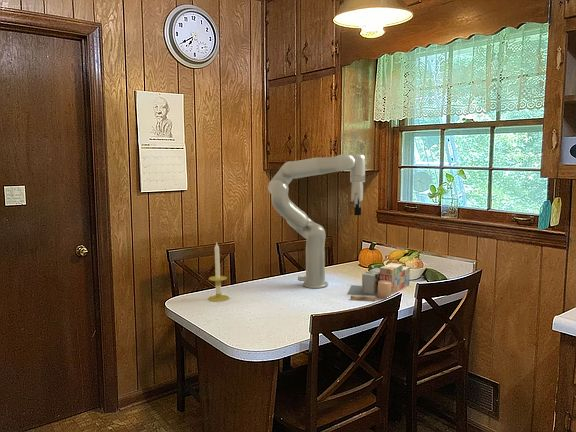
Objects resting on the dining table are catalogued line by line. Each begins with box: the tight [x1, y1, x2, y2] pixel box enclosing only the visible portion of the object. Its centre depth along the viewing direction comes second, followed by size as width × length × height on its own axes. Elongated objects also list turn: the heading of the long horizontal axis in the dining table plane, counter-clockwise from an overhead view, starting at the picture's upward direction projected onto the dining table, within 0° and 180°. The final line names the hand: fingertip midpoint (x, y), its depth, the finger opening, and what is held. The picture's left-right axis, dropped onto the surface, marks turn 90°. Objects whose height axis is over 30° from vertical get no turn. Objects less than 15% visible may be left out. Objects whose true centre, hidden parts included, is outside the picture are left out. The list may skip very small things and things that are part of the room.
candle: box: [207, 242, 230, 303], centre depth 223 cm, size 10×10×27 cm
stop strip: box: [350, 295, 376, 302], centre depth 218 cm, size 11×1×2 cm, turn 76°
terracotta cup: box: [376, 280, 392, 300], centre depth 221 cm, size 6×6×7 cm
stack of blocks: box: [380, 262, 411, 295], centre depth 234 cm, size 21×6×12 cm, turn 143°
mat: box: [347, 284, 377, 297], centre depth 233 cm, size 16×16×1 cm
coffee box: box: [361, 267, 380, 294], centre depth 233 cm, size 9×6×16 cm
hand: (357, 215), depth 246 cm, fingers closed
